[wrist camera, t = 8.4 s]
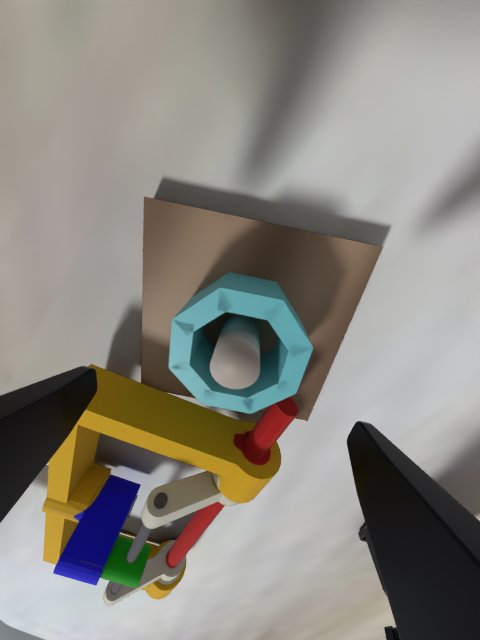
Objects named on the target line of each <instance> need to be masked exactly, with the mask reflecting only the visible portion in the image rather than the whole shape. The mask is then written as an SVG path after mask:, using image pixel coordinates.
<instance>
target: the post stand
mask: <svg viewBox="0 0 480 640" xmlns="http://www.w3.org/2000/svg"><path fill="white" fill-rule="evenodd" d="M382 248H383V247H380V246H375V245H371V244H366V243H361V242H356V241H352V240H347V239H342V238H338V237H333V236H328V235H323V234H319V233H314V232H309V231H304V230H300V229H295V228H290V227H286V226H281V225H276V224H271V223H267V222H262V221H257V220H252V219H248V218H243V217H238V216H234V215H229V214H224V213H219V212H215V211H210V210H205V209H200V208H196V207H191V206H186V205H182V204H177V203H172V202H167V201H163V200H158V199H153V198H148V197H144V231H143V294H142V356H141V383H142V384H144V385H147V386H150V387H152V388H155V389H157V390H160V391H163V392H167V393H172V394H177V395H182V396H187V397H192V398H195V396H194V395H193V394H192V393H191V392H190V391H189V390H188V389H187V388H186V387H185V386H184V384H183V383H182V382H181V381H180V380H179V379H178V378H177V377H176V376H175V375H174V373H173V372H172V371H171V370H170V369H169V368H168V367H169V353H170V340H171V327H172V319H173V318H174V317H175V316H176V314H177V313H178V312H179V311H180V310H181V309H182V308H183V307H184V305H185V304H186V303H187V302H188V301H189V300H190V299H191V298H192V297H193V296H194V295H196V294H197V293H199V292H200V291H202V290H203V289H205V288H206V287H208V286H209V285H211V284H212V283H213V282H215V281H216V280H218V279H219V278H221V277H222V276H224V275H225V274H227V273H228V272H232V273H237V274H242V275H246V276H251V277H256V278H261V279H266V280H271V281H275V282H277V283H278V284H279V286H280V287H281V289H282V291H283V292H284V294H285V296H286V297H287V299H288V300H289V302H290V304H291V305H292V307H293V308H294V310H295V312H296V313H297V315H298V317H299V318H300V320H301V322H302V324H303V327H304V329H305V331H306V333H307V335H308V338H309V340H310V342H311V344H312V346H313V350H312V353H311V356H310V358H309V361H308V364H307V366H306V369H305V372H304V374H303V377H302V379H301V382H300V385H299V387H298V390H297V393H296V394H294V395H292V396H290V397H289V398H291V399H292V400H293V401H294V402H295V403H296V405H297V407H298V414H297V416H296V417H295V418H296V419H301V420H306V421H308V419H309V416H310V414H311V412H312V409H313V407H314V405H315V402H316V400H317V398H318V395H319V393H320V391H321V389H322V386H323V384H324V382H325V379H326V377H327V375H328V372H329V370H330V368H331V365H332V363H333V361H334V359H335V356H336V354H337V352H338V349H339V347H340V345H341V342H342V340H343V338H344V335H345V333H346V331H347V329H348V326H349V324H350V322H351V319H352V317H353V315H354V312H355V310H356V308H357V305H358V303H359V301H360V299H361V296H362V294H363V292H364V289H365V287H366V285H367V282H368V280H369V278H370V275H371V273H372V271H373V269H374V266H375V264H376V262H377V259H378V257H379V255H380V252H381V250H382ZM204 336H205V337H206V338H207V340H208V341H209V342H210V343H211V345H212V346H213V347H214V348H215V350H214V353H213V356H212V359H211V362H210V372H211V375H212V376H213V378H214V379H215V381H216V382H218V383H219V384H220V385H222V386H224V387H226V388H230V389H243V388H246V387H249V386H251V385H252V384H253V383H254V382H255V381H256V380H257V379H258V377H259V374H260V356H262V355H264V354H266V353H268V352H269V351H271V350H273V349H274V347H275V344H276V340H277V337H278V335H277V333H276V332H275V330H274V329H273V327H272V326H271V324H270V323H269V321H268V320H264V319H259V318H255V317H250V316H245V315H240V314H235V313H230V312H225V313H223V314H221V315H220V316H218V317H217V318H215V319H213V320H212V321H210V322H209V323H207V324H205V330H204ZM268 407H269V406H268ZM268 407H265V408H263V409H261V410H259V411H262V412H265V411H266V409H267V408H268Z"/></svg>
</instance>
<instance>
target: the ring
mask: <svg viewBox="0 0 480 640" xmlns="http://www.w3.org/2000/svg"><path fill="white" fill-rule="evenodd" d="M225 312H230V313H235V314H240V315H245V316H250V317H255V318H259V319H264V320H268V321H269V323H270V324H271V326H272V327H273V329H274V330H275V332H276V333H277V335H278V337H277V340H276V344H275V347H274V349H273V350H271V351H269V352H268V353H266V354H264V355H262V356H260V374H259V377H258V379H257V380H256V381H255V382H254V383H253V384H252V385H251V386H249V387H246V388H243V389H230V388H226V387H224V386H222V385H220V384H219V383H218V382H216V381H215V379H214V378H213V376H212V375H211V372H210V362H211V359H212V356H213V353H214V350H215V348H214V347H213V346H212V345H211V343H210V342H209V341H208V340H207V338H206V337H205V336H204V330H205V324H207V323H209V322H210V321H212V320H213V319H215V318H217V317H218V316H220V315H221V314H223V313H225ZM312 350H313V346H312V344H311V342H310V340H309V338H308V335H307V333H306V331H305V329H304V327H303V324H302V322H301V320H300V318H299V317H298V315H297V313H296V312H295V310H294V308H293V307H292V305H291V304H290V302H289V300H288V299H287V297H286V296H285V294H284V292H283V291H282V289H281V287H280V286H279V284H278V283H277V282H275V281H271V280H266V279H261V278H256V277H251V276H246V275H242V274H237V273H232V272H228V273H227V274H225V275H224V276H222V277H221V278H219V279H218V280H216V281H215V282H213V283H212V284H211V285H209V286H208V287H206V288H205V289H203V290H202V291H200V292H199V293H197V294H196V295H194V296H193V297H192V298H191V299H190V300H189V301H188V302H187V303H186V304H185V305H184V307H183V308H182V309H181V310H180V311H179V312H178V313H177V314H176V316H175V317H174V318H173V319H172V327H171V340H170V353H169V367H168V368H169V369H170V370H171V371H172V372H173V373H174V375H175V376H176V377H177V378H178V379H179V380H180V381H181V382H182V383H183V384H184V386H185V387H186V388H187V389H188V390H189V391H190V392H191V393H192V394H193V395H194V396H195V398H196V399H197V400H198V401H199V402H200V403H201V404H204V405H209V406H214V407H219V408H224V409H229V410H234V411H239V412H244V413H249V414H252V413H254V412H256V411H259V410H261V409H263V408H265V407H268V406H270V405H272V404H274V403H276V402H279V401H281V400H283V399H285V398H288V397H290V396H292V395H294V394H296V393H297V390H298V387H299V385H300V382H301V379H302V377H303V374H304V372H305V369H306V366H307V364H308V361H309V358H310V356H311V353H312Z"/></svg>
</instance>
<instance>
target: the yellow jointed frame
mask: <svg viewBox="0 0 480 640" xmlns="http://www.w3.org/2000/svg"><path fill="white" fill-rule="evenodd" d="M88 367H91V368H94V369H95V370H96V373H97V385H98V388H97V392H96V394H95V396H94V397H93V399H92V401H91V402H90V404H89V405H88V407H87V408H86V410H85V411H84V413H83V414H82V416H81V418H80V419H79V421H78V422H77V424H76V425H75V427H74V428H73V430H72V431H71V433H70V434H69V436H68V437H67V438H66V440H65V441H64V442H63V444H62V445H61V446H60V448H59V449H58V450H57V451H56V453H55V454H54V455H53V457H52V458H51V459H50V460H49V466H48V465H45V467H44V468H43V469H42V470H41V472H40V473H39V474H38V476H37V477H36V478H35V479H34V481H33V482H32V483H31V484H30V486H32V487H35V488H38V489H41V490H44V491H47V498H46V500H45V502H44V505H43V509H42V511H43V512H46V522H45V539H44V557H43V561H46V562H50V563H53V564H56V566H55V569H54V572H53V573H54V574H58V575H61V576H65V577H68V578H72V579H75V580H78V581H82V582H85V583H89V584H92V585H97V582H98V580H99V578H103V579H106V580H110V582H109V583H108V585H107V587H106V589H105V592H104V596H103V600H104V603H105V604H106V605H107V606H111V605H114V604H115V603H117V602H119V601H121V600H123V599H124V598H126V597H128V596H130V595H131V594H133V593H135V592H137V591H139V590H140V589H142V590H146V592H147V593H148V594H149V596H150V597H152V598H154V599H162V598H164V597H166V596H167V595H168V594H169V593H170V592H171V591H172V590H173V589H174V588H175V587H176V585H177V584H178V583H179V582H180V581H181V579H182V577H183V575H184V571H185V568H186V554H187V553H188V551H189V550H190V549H191V547H192V546H193V545H194V544H195V542H196V541H197V540H198V539H199V537H200V536H201V535H202V534H203V532H204V531H205V530H206V529H207V527H208V526H209V525H210V524H211V522H212V521H213V520H214V519H215V517H216V516H217V515H218V514H219V512H220V511H221V510H222V509H223V507H224V506H234V505H236V504H238V503H247V502H249V501H251V500H253V499H254V498H255V497H256V496H257V494H258V493H259V492H260V491H261V490H262V489H263V488H264V487H265V486H266V484H267V483H268V482H269V481H270V480H271V479H272V478H273V477H274V475H275V474H276V473H277V472H278V470H279V468H280V465H281V453H280V449H279V446H278V444H277V442H276V441H277V439H278V438H279V437H280V436H281V434H282V433H283V432H284V431H285V429H286V428H287V427H288V426H289V424H290V423H291V422H292V421H293V419H294V418H295V417H296V416H297V414H298V407H297V405H296V403H295V402H294V401H293V400H292V399H291V398H289V397H288V398H285V399H283V400H281V401H279V402H276V403H274V404H272V405H270V406H269V407H268V408H267V409H266V411H265V412H264V414H263V415H262V417H261V418H260V420H259V421H258V422H257V423H255V422H251V421H242V422H241V421H238V420H236V419H233V418H231V417H228V416H225V415H223V414H220V413H217V412H215V411H212V410H210V409H207V408H204V407H202V406H199V405H197V404H194V403H191V402H189V401H186V400H184V399H181V398H178V397H176V396H173V395H170V394H168V393H165V392H163V391H160V390H157V389H155V388H152V387H150V386H147V385H144V384H142V383H139V382H137V381H134V380H131V379H129V378H126V377H123V376H121V375H118V374H116V373H113V372H110V371H108V370H105V369H103V368H100V367H97V366H95V365H92V364H91V365H90V366H88ZM100 433H102V434H105V435H108V436H111V437H114V438H117V439H119V440H122V441H125V442H128V443H131V444H133V445H136V446H139V447H142V448H145V449H148V450H150V451H153V452H156V453H159V454H162V455H164V456H167V457H170V458H173V459H176V460H179V461H181V462H184V463H187V464H190V465H193V466H196V467H198V468H201V469H204V470H207V471H205V472H202V473H199V474H196V475H193V476H190V477H187V478H184V479H181V480H178V481H174V482H171V483H168V484H165V485H162V486H159V487H157V488H155V489H154V490H152V492H151V493H150V494H149V496H148V498H147V500H146V503H145V505H144V507H143V509H142V513H141V519H142V522H143V523H142V525H141V527H140V529H139V531H138V533H137V535H136V537H135V539H134V538H131V537H128V536H125V535H121V534H119V533H120V531H121V529H122V527H123V524H124V522H125V520H126V518H127V517H129V515H130V512H131V510H132V508H133V506H134V503H135V501H136V499H137V496H138V495H137V493H138V490H139V488H140V484H137V483H134V482H131V481H128V480H126V479H123V478H120V477H117V476H114V475H111V474H110V473H111V469H110V468H107V467H104V466H101V465H98V464H95V463H94V459H95V455H96V450H97V446H98V441H99V436H100ZM195 511H196V512H195ZM192 512H195V513H194V515H193V516H192V518H191V519H190V521H189V522H188V524H187V525H186V526H185V528H184V529H183V531H182V532H181V534H180V535H179V537H178V538H177V539H176V540H168V541H165V542H163V543H162V544H161V545H160V546H157V545H153V544H150V543H147V542H146V540H147V538H148V537H149V535H150V533H151V531H152V529H154V528H157V527H160V526H162V525H164V524H167V523H169V522H171V521H174V520H176V519H178V518H181V517H183V516H185V515H188V514H190V513H192Z"/></svg>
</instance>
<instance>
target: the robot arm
mask: <svg viewBox="0 0 480 640" xmlns="http://www.w3.org/2000/svg"><path fill="white" fill-rule="evenodd" d="M97 388H98V385H97V373H96V370H95V369H94V368H91V367H86V366H81V367H78V368H75V369H72V370H69V371H67V372H64V373H61V374H59V375H56V376H53V377H50V378H48V379H45V380H42V381H39V382H37V383H34V384H31V385H28V386H26V387H23V388H20V389H17V390H15V391H12V392H9V393H6V394H4V395H1V396H0V522H1V521H2V520H3V519H4V517H5V516H6V515H7V514H8V512H9V511H10V510H11V509H12V507H13V506H14V505H15V503H16V502H17V501H18V500H19V498H20V497H21V496H22V495H23V493H24V492H25V491H26V489H27V488H28V487H29V486H30V484H31V483H32V482H33V481H34V479H35V478H36V477H37V476H38V474H39V473H40V472H41V470H42V469H43V468H44V467H45V465H46V464H47V463H48V462H49V460H50V459H51V458H52V457H53V455H54V454H55V453H56V451H57V450H58V449H59V448H60V446H61V445H62V444H63V442H64V441H65V440H66V438H67V437H68V436H69V434H70V433H71V431H72V430H73V428H74V427H75V425H76V424H77V422H78V421H79V419H80V418H81V416H82V414H83V413H84V411H85V410H86V408H87V407H88V405H89V404H90V402H91V401H92V399H93V397H94V396H95V394H96V392H97ZM347 446H348V451H349V456H350V461H351V466H352V471H353V476H354V481H355V486H356V490H357V495H358V498H359V502H360V505H361V509H362V512H363V515H364V519H365V522H366V524H365V525H364V526H363V528H362V529H361V530H360V531H359V533H358V534H359V537H360V540H361V541H365V542H367V544H368V547H369V550H370V553H371V556H372V559H373V562H374V564H375V567H376V570H377V573H378V576H379V579H380V582H381V585H382V588H383V590H384V592H385V594H386V595H387V596H388V600H389V603H390V607H391V610H392V613H393V617H394V620H395V623H396V628H393V627H392V626H388V627H384V629H385V633H386V639H387V640H480V521H479V520H478V519H477V518H476V517H474V516H473V515H472V514H471V513H470V512H469V511H468V510H467V509H466V508H464V507H463V506H462V505H461V504H460V503H459V502H458V501H457V500H455V499H454V498H453V497H452V496H451V495H450V494H449V493H448V492H447V491H445V490H444V489H443V488H442V487H441V486H440V485H439V484H438V483H436V482H435V481H434V480H433V479H432V478H431V477H430V476H429V475H428V474H426V473H425V472H424V471H423V470H422V469H421V468H420V467H419V466H417V465H416V464H415V463H414V462H413V461H412V460H411V459H410V458H409V457H407V456H406V455H405V454H404V453H403V452H402V451H401V450H400V449H398V448H397V447H396V446H395V445H394V444H393V443H392V442H391V441H390V440H388V439H387V438H386V437H385V436H384V435H383V434H382V433H381V432H379V431H378V430H377V429H376V428H375V427H374V426H373V425H372V424H370V423H366V422H361V421H358V422H356V423H355V425H354V427H353V428H352V430H351V432H350V434H349V436H348V438H347Z"/></svg>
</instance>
